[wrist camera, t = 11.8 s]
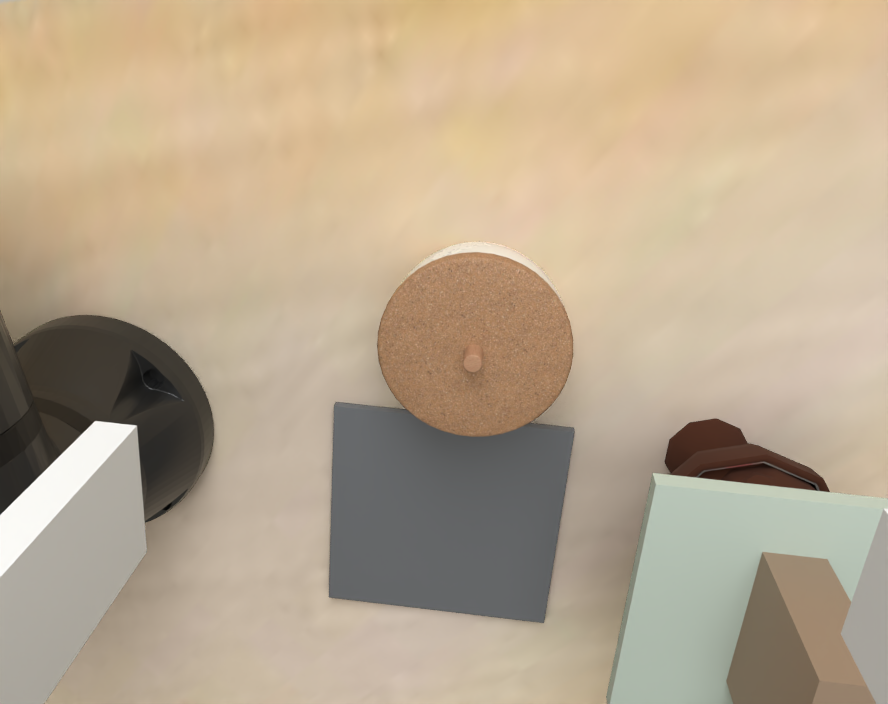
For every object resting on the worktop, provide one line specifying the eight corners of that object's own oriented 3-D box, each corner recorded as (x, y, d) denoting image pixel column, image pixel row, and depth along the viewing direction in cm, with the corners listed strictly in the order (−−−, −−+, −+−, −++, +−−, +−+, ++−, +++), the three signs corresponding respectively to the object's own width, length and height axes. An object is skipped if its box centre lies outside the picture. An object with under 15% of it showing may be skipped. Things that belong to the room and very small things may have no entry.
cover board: (606, 696, 44) (626, 856, 36) (652, 473, 39) (689, 601, 30) (872, 728, 44) (955, 899, 35) (958, 506, 38) (1080, 646, 30)
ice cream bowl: (669, 547, 58) (715, 718, 44) (596, 423, 55) (622, 566, 41) (816, 487, 55) (915, 648, 41) (749, 352, 52) (832, 479, 38)
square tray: (330, 592, 62) (328, 597, 61) (336, 402, 56) (334, 405, 55) (543, 617, 61) (543, 622, 61) (573, 427, 55) (574, 432, 54)
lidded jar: (372, 247, 51) (343, 297, 43) (541, 199, 49) (545, 241, 41) (426, 397, 55) (408, 471, 46) (584, 358, 53) (596, 427, 44)
